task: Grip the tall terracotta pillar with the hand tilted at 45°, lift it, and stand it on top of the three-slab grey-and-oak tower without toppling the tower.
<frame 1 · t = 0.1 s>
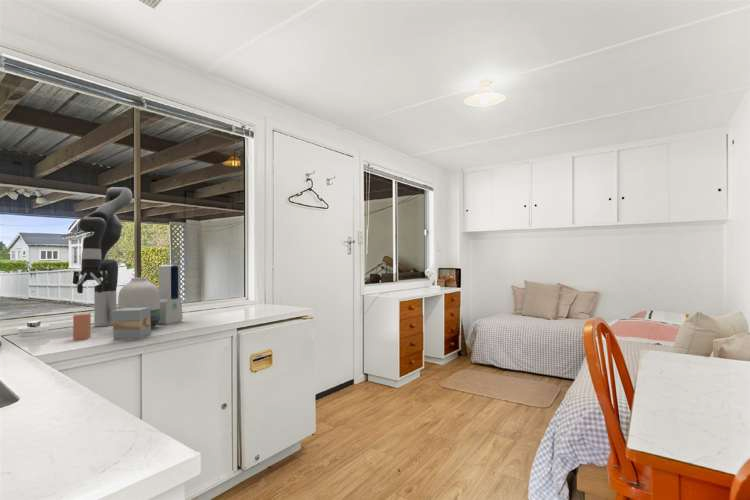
hand: (90, 292, 183), 17 cm above the worktop, tool pointing down, fingers open, 8 cm apart
pillar: (82, 338, 160), on the worktop
electronic device: (168, 323, 200), on the worktop
vase: (139, 329, 183), on the worktop
tower slab middle: (132, 328, 162), point 4 cm above the worktop, touching tower slab bottom, tower slab top
tower slab top: (132, 318, 162), point 8 cm above the worktop, touching tower slab middle
tower slab bottom: (132, 337, 162), on the worktop, touching tower slab middle
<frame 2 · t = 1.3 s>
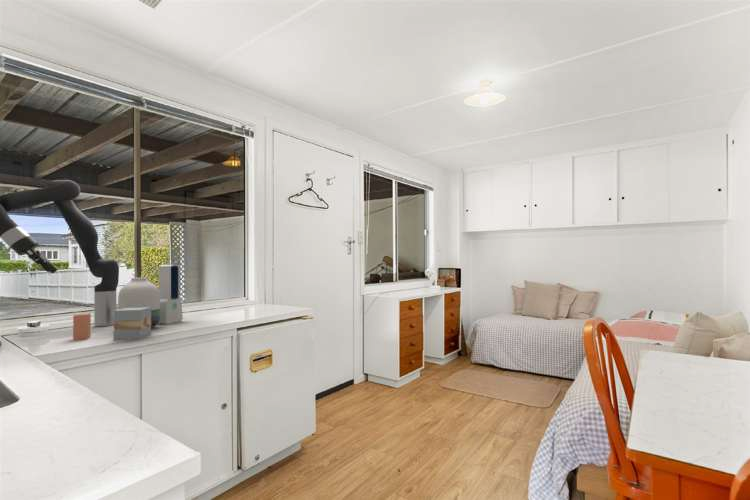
hand: (53, 271, 157), 28 cm above the worktop, tool tilted 40°, fingers open, 8 cm apart
nothing on the worktop moved.
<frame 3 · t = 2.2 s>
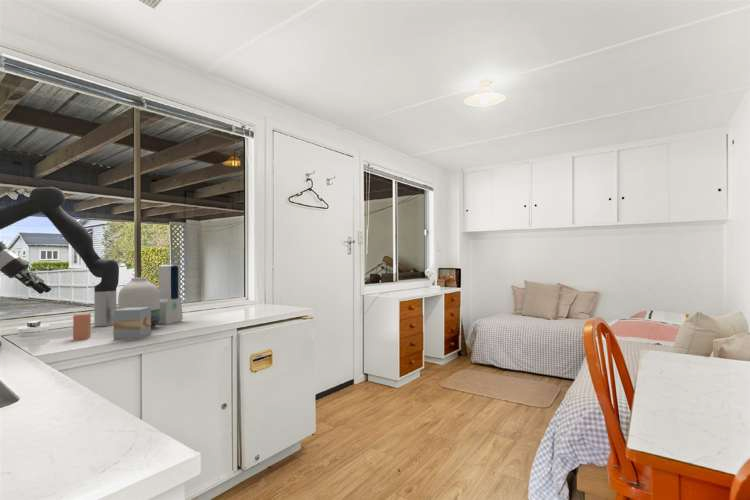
hand: (46, 291, 155), 20 cm above the worktop, tool tilted 45°, fingers open, 8 cm apart
tower slab middle: (133, 327, 162), point 4 cm above the worktop, touching tower slab bottom
tower slab top: (133, 318, 162), point 8 cm above the worktop
everything else where it was.
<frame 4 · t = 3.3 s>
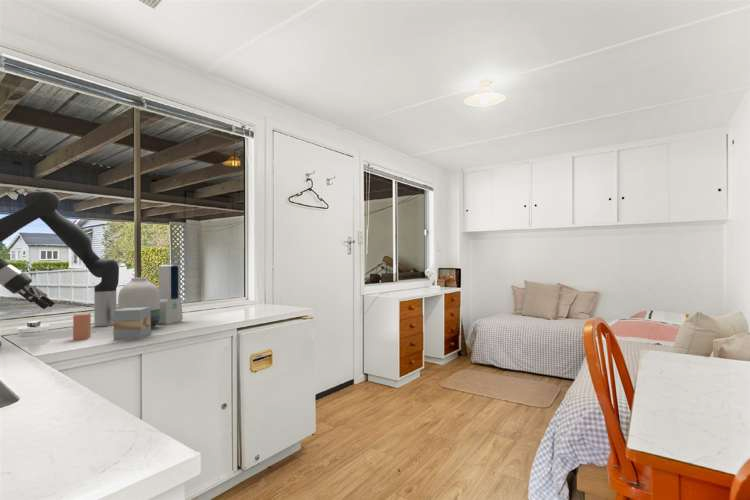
hand: (49, 306, 156), 14 cm above the worktop, tool tilted 45°, fingers open, 8 cm apart
tower slab middle: (132, 328, 162), point 4 cm above the worktop, touching tower slab bottom, tower slab top
tower slab top: (132, 318, 162), point 8 cm above the worktop, touching tower slab middle
everything else where it was.
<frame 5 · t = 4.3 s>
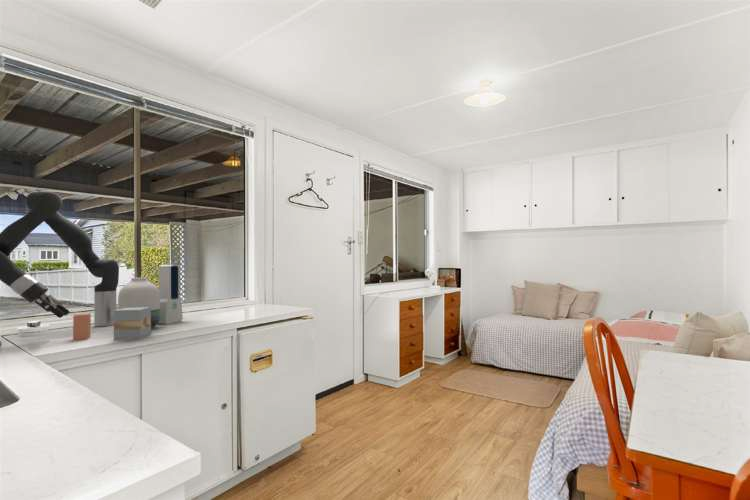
hand: (65, 314, 158), 10 cm above the worktop, tool tilted 45°, fingers open, 8 cm apart
tower slab middle: (133, 327, 162), point 4 cm above the worktop, touching tower slab bottom
tower slab top: (132, 318, 162), point 8 cm above the worktop
everything else where it was.
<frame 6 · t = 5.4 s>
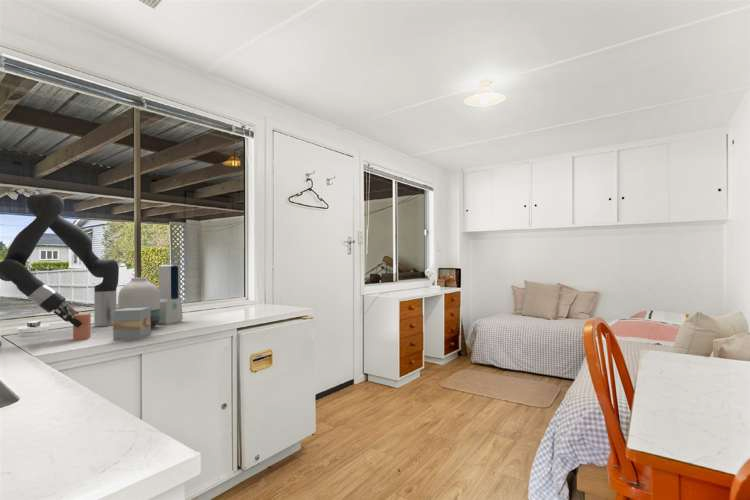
hand: (82, 324, 160), 6 cm above the worktop, tool tilted 45°, fingers open, 8 cm apart
tower slab middle: (132, 328, 162), point 4 cm above the worktop, touching tower slab bottom, tower slab top
tower slab top: (132, 318, 162), point 8 cm above the worktop, touching tower slab middle
everything else where it was.
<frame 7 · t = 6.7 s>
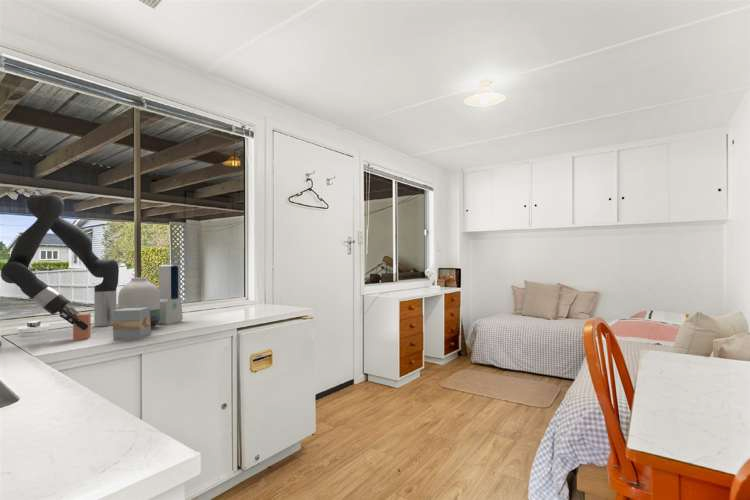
hand: (87, 327, 161), 4 cm above the worktop, tool tilted 45°, fingers closed on pillar, 5 cm apart
pillar: (82, 338, 160), on the worktop, touching gripper
everything else where it was.
when the fingers open (18 cm above the worktop, at t = 13.0 s): pillar drops 2 cm, resting on tower slab top.
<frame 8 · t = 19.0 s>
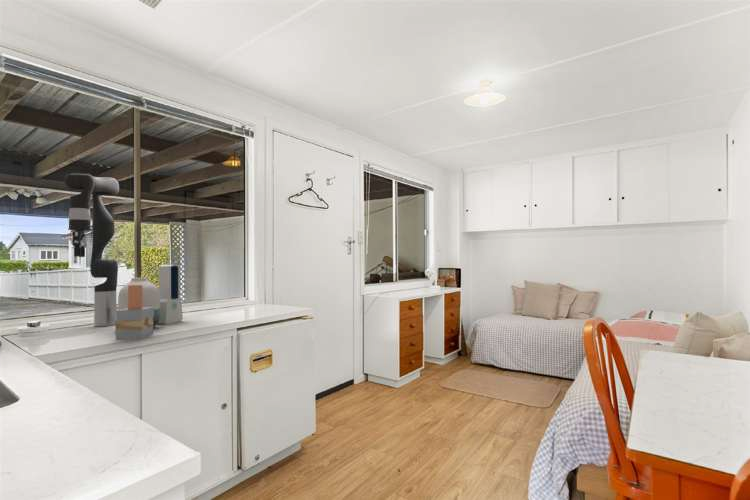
hand: (79, 256, 168), 34 cm above the worktop, tool pointing down, fingers open, 8 cm apart
pillar: (135, 308, 163), point 12 cm above the worktop, touching tower slab top
tower slab middle: (135, 327, 163), point 4 cm above the worktop, touching tower slab bottom, tower slab top
tower slab top: (135, 318, 163), point 8 cm above the worktop, touching pillar, tower slab middle
everything else where it was.
at the end: pillar inside the target area on the tower slab bottom (0.4 cm from its centre), point 12.0 cm above the tower slab bottom's base; pillar tilted 0°; tower slab top 0.2 cm off-centre on the tower slab bottom, point 8.0 cm above the tower slab bottom's base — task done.
